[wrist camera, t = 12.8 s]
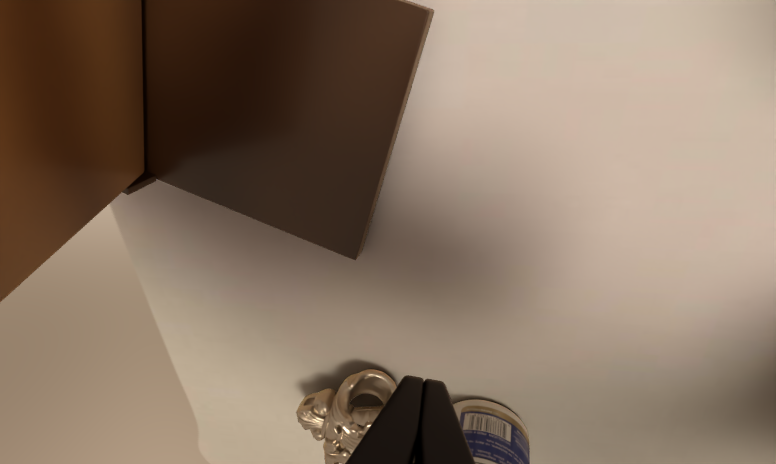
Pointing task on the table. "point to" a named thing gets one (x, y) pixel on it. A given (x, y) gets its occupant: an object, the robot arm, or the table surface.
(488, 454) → the pill bottle
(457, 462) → the robot arm
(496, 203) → the table surface
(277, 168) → the stand
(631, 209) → the table surface
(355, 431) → the ornament
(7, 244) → the wooden letter rack
